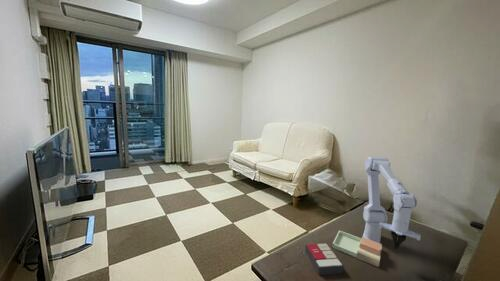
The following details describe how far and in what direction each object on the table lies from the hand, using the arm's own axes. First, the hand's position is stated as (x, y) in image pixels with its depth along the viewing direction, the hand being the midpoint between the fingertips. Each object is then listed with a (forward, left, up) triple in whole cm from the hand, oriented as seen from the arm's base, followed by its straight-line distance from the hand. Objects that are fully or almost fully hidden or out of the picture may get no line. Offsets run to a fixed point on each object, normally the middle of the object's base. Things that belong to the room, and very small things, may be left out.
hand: (395, 247), depth 92 cm
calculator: (+19, -26, -9) cm, 33 cm away
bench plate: (0, -10, -8) cm, 12 cm away
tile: (0, -10, -5) cm, 11 cm away
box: (0, -20, -8) cm, 21 cm away
